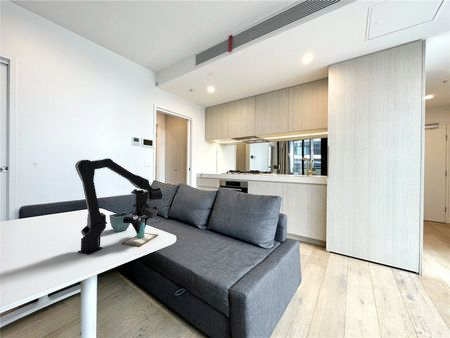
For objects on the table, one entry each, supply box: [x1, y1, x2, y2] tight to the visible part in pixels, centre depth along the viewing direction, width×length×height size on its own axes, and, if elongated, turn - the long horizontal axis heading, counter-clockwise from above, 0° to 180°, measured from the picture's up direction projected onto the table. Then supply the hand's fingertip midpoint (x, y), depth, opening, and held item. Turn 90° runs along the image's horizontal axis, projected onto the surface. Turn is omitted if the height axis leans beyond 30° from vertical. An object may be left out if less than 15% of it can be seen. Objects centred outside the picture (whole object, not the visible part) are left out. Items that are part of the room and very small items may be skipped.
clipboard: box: [121, 232, 159, 247], centre depth 96 cm, size 15×10×1 cm, turn 168°
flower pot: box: [109, 211, 132, 233], centre depth 109 cm, size 9×9×9 cm
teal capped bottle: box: [136, 218, 146, 238], centre depth 97 cm, size 4×4×9 cm
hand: (140, 232), depth 97 cm, fingers closed on teal capped bottle, 4 cm apart
